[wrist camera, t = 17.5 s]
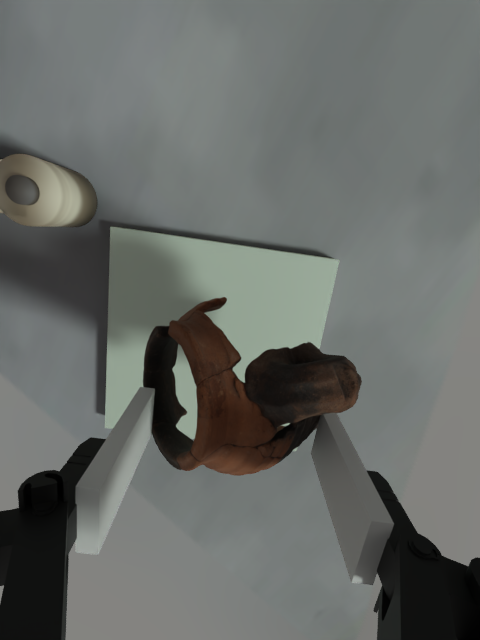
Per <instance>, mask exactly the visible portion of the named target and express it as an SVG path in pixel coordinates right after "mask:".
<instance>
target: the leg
mask: <svg viewBox="0 0 480 640" xmlns="http://www.w3.org/2000/svg"><path fill="white" fill-rule="evenodd" d="M96 209H97V196H96V192H95V190H94V188H93V186H92V184H91V183H90V182H89V181H88V179H86V178H85V177H84V176H83V175H81V174H80V173H78V172H75V171H72V170H70V169H67V168H64V167H61V166H58V165H56V164H53V163H50V162H47V161H44V160H42V159H39V158H36V157H33V156H30V155H26V154H13V155H10V156H7V157H6V158H4V159H0V213H4V214H5V215H6V216H8V217H9V218H10V219H12V220H13V221H15V222H17V223H19V224H22V225H25V226H42V227H80V226H83V225H85V224H87V223H88V222H89V221H90V220H91V219H92V218H93V217H94V215H95V212H96Z"/></svg>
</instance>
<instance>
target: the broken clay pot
mask: <svg viewBox="0 0 480 640" xmlns="http://www.w3.org/2000/svg"><path fill="white" fill-rule="evenodd" d="M226 301H227V298H226V297H222V298H214V299H211V300H209V301H204V302H202V303H200V304H198V305H196V306H195V307H194V308H192V309H191V310H189V311H188V312H187V313H185V314H184V315H183V316H182V317H180V319H179V320H178V321H175V320H172V321H171V322H170V323H169V326H156V327H155V328H154V329H153V331H152V332H151V334H150V336H149V340H148V342H147V345H146V350H145V355H144V371H143V387H146V388H154V389H155V395H154V408H153V421H152V434H153V437H154V439H155V442H156V444H157V446H158V448H159V450H160V452H161V453H162V454H163V456H164V457H165V458H166V460H167V461H168V462H169V463H170V464H171V465H172V466H174V467H175V468H177V469H179V470H181V469H182V470H185V471H190V470H193V469H195V468H196V467H198V466H200V465H205V466H206V467H207V468H210V469H213V470H215V471H217V472H220V473H225V474H231V475H245V474H252V473H256V472H259V471H261V470H265V469H268V468H270V467H272V466H274V465H275V464H277V463H279V462H280V461H282V460H283V459H284V458H285V457H286V456H288V455H289V454H290V453H291V452H292V451H293V450H294V449H295V448H297V447H298V446H299V445H300V444H301V443H302V442H303V441H304V440H305V439H307V437H308V436H309V435H310V434H311V433H312V432H313V430H315V429H316V428H317V427H318V423H319V419H320V416H321V415H323V414H328V413H341V412H343V411H345V410H348V409H349V408H351V407H353V405H354V404H355V403H356V401H357V399H358V393H359V389H360V385H361V382H362V381H361V377H360V376H359V374H357V371H356V367H355V366H354V364H353V363H352V362H351V361H349V360H348V359H347V358H346V357H344V356H338V355H327V354H323V353H322V352H321V351H320V350H319V349H318V348H317V347H316V346H315V345H314V344H312V343H311V342H307V343H302V344H300V345H298V346H296V347H293V348H291V349H290V348H289V347H283V348H280V349H268V350H266V351H264V352H263V353H262V354H261V355H260V356H258V357H257V358H256V359H254V360H253V361H251V362H250V364H249V365H248V366H247V368H246V371H245V383H244V382H242V381H241V380H239V379H238V377H237V375H236V374H235V372H234V371H233V367H235V366H236V364H237V363H239V362H240V361H241V356H240V354H239V352H238V351H237V350H236V349H235V348H234V346H233V345H232V344H231V342H230V341H229V340H228V339H227V337H226V335H225V334H224V332H223V331H222V330H221V329H220V328H219V327H217V326H216V325H215V324H214V323H213V322H212V320H211V319H210V318H209V317H208V316H207V315H206V314H205V313H206V312H210V311H214V310H218V309H220V308H221V307H223V306H224V305H225V303H226ZM178 344H179V345H180V346H181V347H182V349H183V351H184V354H185V356H186V358H187V360H188V363H189V366H190V369H191V373H192V376H193V378H194V382H195V385H196V395H197V428H196V434H195V440H194V441H193V440H191V439H190V438H189V437H188V436H186V435H185V434H184V433H182V432H181V431H179V430H178V428H177V427H176V425H177V423H178V422H179V420H180V418H181V417H182V416H184V415H186V414H187V411H186V409H185V408H184V407H183V406H181V404H180V403H179V401H178V398H177V396H176V386H175V383H176V382H175V375H174V372H173V367H174V366H175V364H176V360H177V350H178ZM287 423H290V424H289V425H287V426H281V425H284V424H287ZM277 427H278V428H277Z"/></svg>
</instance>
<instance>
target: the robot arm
mask: <svg viewBox="0 0 480 640" xmlns="http://www.w3.org/2000/svg"><path fill="white" fill-rule="evenodd" d="M154 395H155V389H154V388H146V387H140V388H139V390H138V391H137V393H136V394H135V396H134V397H133V399H132V400H131V402H130V403H129V405H128V406H127V408H126V410H125V411H124V413H123V414H122V416H121V417H120V419H119V420H118V422H117V423H116V425H115V427H114V428H113V430H112V431H111V433H110V434H109V436H108V437H107V439H99V438H89V439H88V440H86V441H85V442H83V443H82V444H80V445H79V446H78V448H77V449H76V450H75V452H74V453H73V455H72V456H71V457H70V458H69V460H68V461H67V463H66V464H65V465H64V466H63V468H62V469H61V470H60V471H56V470H52V471H51V470H50V471H44V472H40V473H37V474H35V475H33V476H31V477H29V478H28V479H27V480H25V481H24V483H22V484H21V486H20V488H19V490H18V499H19V508H17V509H12V510H6V511H0V586H2V585H4V589H3V594H2V598H1V604H0V640H65V635H66V611H67V584H68V554H69V552H70V550H71V548H72V546H73V544H74V542H75V540H76V552H78V553H87V554H97V555H98V554H99V552H100V550H101V547H102V545H103V543H104V540H105V538H106V536H107V533H108V531H109V529H110V527H111V525H112V522H113V520H114V518H115V515H116V513H117V511H118V509H119V507H120V504H121V502H122V500H123V497H124V495H125V493H126V490H127V488H128V486H129V484H130V482H131V479H132V477H133V475H134V473H135V470H136V468H137V466H138V463H139V461H140V459H141V457H142V454H143V452H144V450H145V448H146V445H147V443H148V441H149V439H150V436H151V434H152V421H153V408H154ZM311 455H312V458H313V461H314V465H315V468H316V471H317V474H318V477H319V481H320V484H321V487H322V490H323V493H324V497H325V500H326V503H327V506H328V509H329V512H330V516H331V519H332V522H333V525H334V528H335V532H336V535H337V538H338V541H339V544H340V548H341V551H342V554H343V557H344V560H345V563H346V567H347V570H348V573H349V576H350V579H351V583H360V584H369V585H373V583H374V580H375V577H376V574H377V573H378V575H379V578H380V580H381V583H382V588H381V590H380V593H379V596H378V599H377V601H376V604H375V607H374V612H376V613H377V611H378V610H379V611H378V632H377V640H480V558H474V559H472V560H471V562H470V564H469V566H466V565H463V564H461V563H458V562H456V561H453V560H451V559H448V558H446V557H444V556H442V555H441V553H440V551H439V550H438V549H437V547H436V546H435V545H434V544H433V543H432V542H431V541H430V540H428V539H427V538H425V537H424V536H422V535H420V534H418V533H417V531H416V530H415V528H414V526H413V524H412V523H411V521H410V519H409V518H408V516H407V514H406V513H405V511H404V509H403V507H402V506H401V504H400V503H399V502H398V499H397V497H396V495H395V494H394V493H393V490H392V488H391V487H390V485H389V483H388V482H387V481H386V480H385V479H384V478H383V477H382V476H381V475H380V474H379V473H378V472H375V471H366V469H365V467H364V465H363V463H362V461H361V459H360V458H359V456H358V454H357V452H356V450H355V448H354V446H353V444H352V442H351V440H350V438H349V437H348V435H347V433H346V431H345V429H344V427H343V425H342V423H341V421H340V419H339V417H338V415H337V414H336V413H328V414H323V415H321V416H320V419H319V423H318V427H317V431H316V435H315V439H314V444H313V448H312V452H311ZM378 608H379V609H378Z"/></svg>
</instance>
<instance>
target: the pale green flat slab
mask: <svg viewBox="0 0 480 640" xmlns="http://www.w3.org/2000/svg"><path fill="white" fill-rule="evenodd" d="M338 265H339V260H337V259H334V258H327V257H320V256H314V255H307V254H300V253H293V252H286V251H279V250H273V249H266V248H259V247H252V246H245V245H238V244H232V243H225V242H218V241H211V240H204V239H197V238H191V237H184V236H177V235H170V234H163V233H156V232H150V231H143V230H136V229H129V228H122V227H110V260H109V296H108V333H107V369H106V405H105V428H112V429H113V428H114V427H115V425H116V423H117V422H118V420H119V419H120V417H121V416H122V414H123V413H124V411H125V410H126V408H127V406H128V405H129V403H130V402H131V400H132V399H133V397H134V396H135V394H136V393H137V391H138V390H139V388H140V387H143V371H144V355H145V350H146V345H147V342H148V340H149V336H150V334H151V332H152V331H153V329H154V328H155V327H156V326H169V323H170V322H171V321H172V320H175V321H178V320H179V319H180V317H182V316H183V315H184V314H185V313H187V312H188V311H189V310H191V309H192V308H194V307H195V306H196V305H198V304H200V303H202V302H204V301H209V300H211V299H214V298H222V297H226V298H227V301H226V303H225V305H224V306H223V307H221V308H220V309H218V310H214V311H210V312H206V313H205V314H206V315H207V316H208V317H209V318H210V319H211V320H212V322H213V323H214V324H215V325H216V326H217V327H219V328H220V329H221V330H222V331H223V332H224V334H225V335H226V337H227V339H228V340H229V341H230V342H231V344H232V345H233V346H234V348H235V349H236V350H237V351H238V352H239V354H240V356H241V361H240V362H239V363H237V364H236V366H235V367H233V371H234V372H235V374H236V375H237V377H238V379H239V380H241V381H242V382H244V383H245V371H246V368H247V366H248V365H249V364H250V362H251V361H253V360H254V359H256V358H257V357H258V356H260V355H261V354H262V353H263V352H264V351H266V350H268V349H280V348H283V347H289V348H290V349H291V348H293V347H296V346H298V345H300V344H302V343H307V342H311V343H312V344H314V345H315V346H316V347H317V348H318V349H320V344H321V340H322V335H323V331H324V326H325V322H326V318H327V313H328V309H329V304H330V300H331V296H332V291H333V287H334V282H335V278H336V273H337V269H338ZM173 372H174V375H175V382H176V383H175V386H176V396H177V398H178V401H179V403H180V404H181V406H183V407H184V408H185V409H186V411H187V414H186V415H184V416H182V417H181V418H180V420H179V422H178V423H177V425H176V427H177V428H178V430H179V431H181V432H182V433H184V434H185V435H186V436H188V437H189V438H193V439H195V434H196V428H197V395H196V385H195V382H194V378H193V376H192V373H191V369H190V366H189V363H188V360H187V358H186V356H185V354H184V351H183V349H182V347H181V346H180V345H179V344H178V350H177V360H176V364H175V366H174V367H173ZM289 424H290V423H287V424H284V425H281V426H287V425H289ZM277 428H278V427H277ZM296 450H297V448H295V449H294V450H293V451H296Z"/></svg>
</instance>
